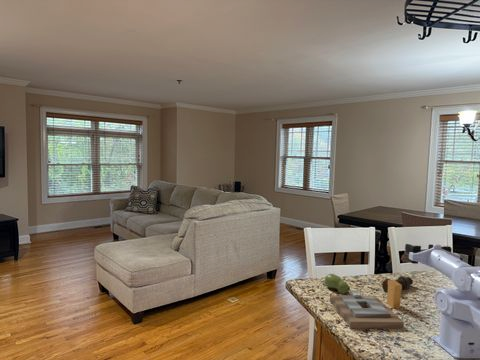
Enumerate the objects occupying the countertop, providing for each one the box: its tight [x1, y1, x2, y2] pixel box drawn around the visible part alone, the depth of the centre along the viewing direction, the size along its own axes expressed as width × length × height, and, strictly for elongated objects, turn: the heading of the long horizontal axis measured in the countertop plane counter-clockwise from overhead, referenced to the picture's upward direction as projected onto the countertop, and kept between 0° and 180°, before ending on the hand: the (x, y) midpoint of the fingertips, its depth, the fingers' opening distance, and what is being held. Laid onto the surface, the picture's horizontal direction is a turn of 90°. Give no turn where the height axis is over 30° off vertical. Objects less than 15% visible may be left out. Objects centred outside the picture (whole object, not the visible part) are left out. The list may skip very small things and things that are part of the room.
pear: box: [323, 273, 351, 295], centre depth 123 cm, size 6×5×10 cm
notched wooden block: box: [386, 279, 403, 309], centre depth 111 cm, size 5×2×8 cm, turn 3°
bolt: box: [381, 275, 414, 294], centre depth 126 cm, size 6×5×15 cm
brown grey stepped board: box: [329, 289, 405, 330], centre depth 104 cm, size 18×16×4 cm
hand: (417, 247), depth 105 cm, fingers open, 7 cm apart
